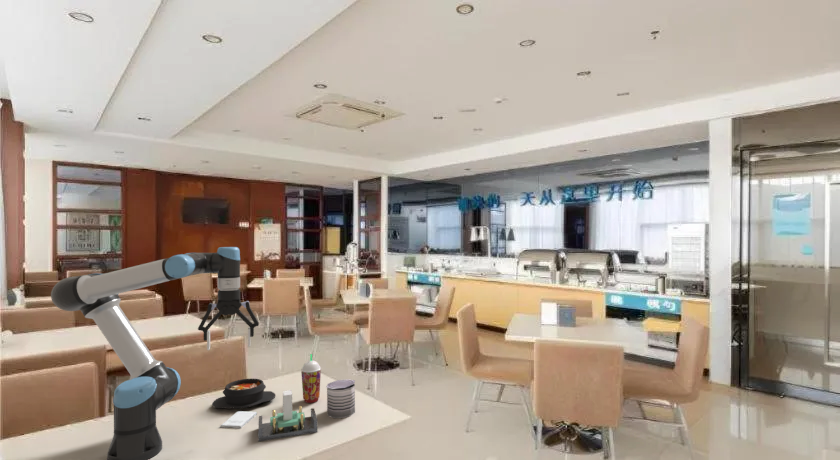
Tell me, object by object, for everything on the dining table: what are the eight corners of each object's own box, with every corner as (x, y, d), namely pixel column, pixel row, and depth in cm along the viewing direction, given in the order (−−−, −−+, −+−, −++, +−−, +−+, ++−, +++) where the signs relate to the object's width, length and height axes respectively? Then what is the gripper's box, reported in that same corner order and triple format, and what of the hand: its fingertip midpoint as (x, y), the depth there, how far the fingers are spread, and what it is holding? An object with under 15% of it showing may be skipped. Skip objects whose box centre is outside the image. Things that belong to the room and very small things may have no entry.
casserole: (274, 392, 197) (274, 373, 197) (276, 407, 180) (276, 387, 180) (214, 400, 188) (214, 380, 188) (210, 417, 171) (210, 395, 171)
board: (270, 428, 151) (270, 399, 152) (270, 417, 161) (270, 390, 161) (305, 423, 155) (305, 395, 156) (303, 412, 165) (303, 386, 165)
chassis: (258, 441, 150) (258, 422, 150) (258, 428, 160) (258, 410, 160) (317, 432, 156) (317, 414, 156) (314, 419, 167) (314, 403, 167)
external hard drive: (256, 415, 172) (241, 429, 160) (237, 415, 173) (220, 429, 161) (256, 411, 172) (241, 425, 160) (237, 411, 173) (220, 424, 161)
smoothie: (299, 398, 188) (299, 353, 189) (319, 395, 192) (318, 350, 192) (303, 405, 181) (302, 357, 181) (323, 402, 184) (322, 355, 185)
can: (340, 420, 166) (339, 389, 166) (320, 413, 173) (320, 383, 173) (361, 411, 175) (361, 381, 175) (342, 404, 182) (341, 376, 182)
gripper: (189, 292, 150) (189, 353, 150) (265, 288, 158) (265, 346, 158) (192, 289, 157) (192, 348, 157) (265, 286, 165) (265, 341, 165)
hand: (229, 347), depth 157 cm, fingers open, 13 cm apart
